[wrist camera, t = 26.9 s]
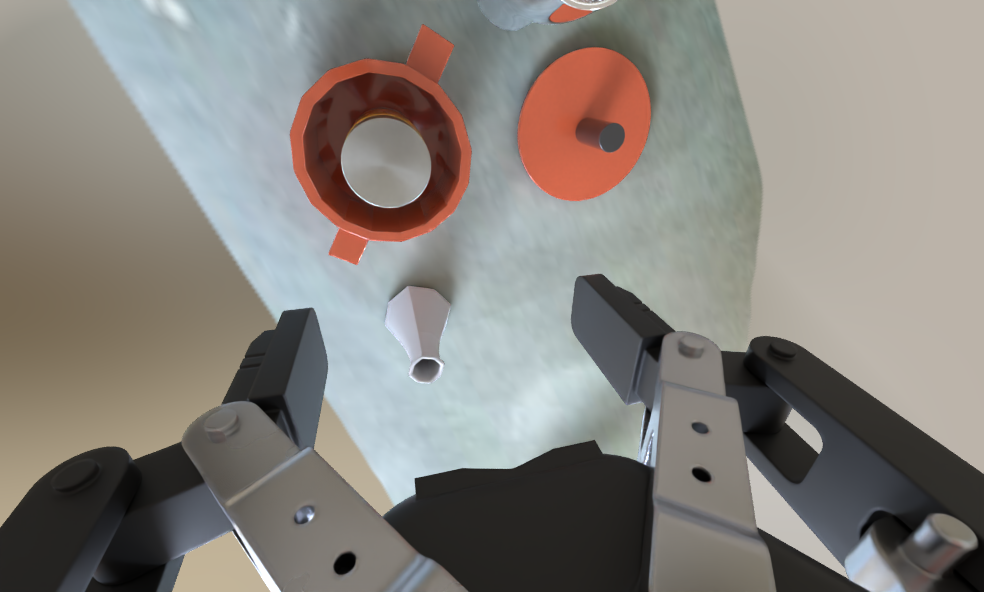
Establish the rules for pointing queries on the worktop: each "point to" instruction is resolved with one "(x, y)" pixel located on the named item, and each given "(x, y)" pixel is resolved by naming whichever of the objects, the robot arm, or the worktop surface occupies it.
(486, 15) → the silver metal cup
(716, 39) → the worktop surface
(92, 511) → the robot arm
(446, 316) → the flask
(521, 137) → the lid
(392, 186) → the can
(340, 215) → the pot
